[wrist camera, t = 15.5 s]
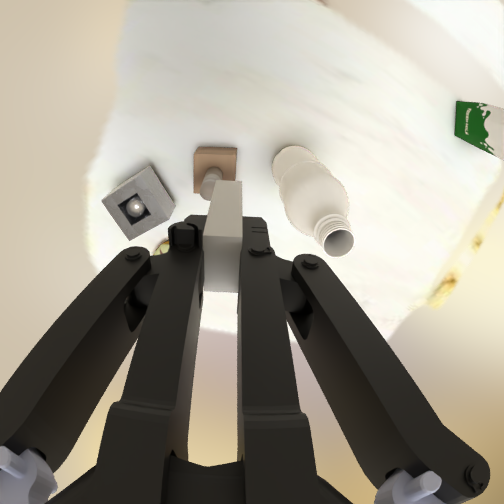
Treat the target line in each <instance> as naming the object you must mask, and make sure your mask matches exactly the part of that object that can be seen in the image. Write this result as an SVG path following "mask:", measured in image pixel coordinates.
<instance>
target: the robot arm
mask: <svg viewBox="0 0 504 504" xmlns="http://www.w3.org/2000/svg"><path fill="white" fill-rule="evenodd" d="M168 237H169V249H168V252H166V253H163V254H159V255H153V256H150V253H149V251H148V250H147V249H146V248H143V247H137V246H134V247H129V248H127V249H124V250H123V251H121V252H120V253H119V254H118V255H117V256H116V257H115V258H114V259H113V260H112V261H111V262H110V263H109V264H108V265H107V266H106V267H105V268H104V269H103V270H102V271H101V272H100V273H99V274H98V275H97V276H96V277H95V278H94V279H93V280H92V281H91V282H90V283H89V285H88V286H87V287H86V288H85V289H84V290H83V291H82V292H81V293H80V294H79V295H78V296H77V298H76V299H75V300H74V301H73V302H72V303H71V304H70V305H69V307H67V309H66V310H65V311H64V312H63V313H62V314H61V316H60V317H59V318H58V319H57V320H56V321H55V322H54V324H53V325H52V326H51V327H50V328H49V329H48V331H47V332H46V333H45V334H44V335H43V337H42V338H41V339H40V340H39V342H38V343H37V344H36V345H35V347H34V348H33V349H32V350H31V352H30V353H29V354H28V356H27V357H26V358H25V359H24V360H23V362H22V363H21V364H20V366H19V367H18V368H17V370H16V371H15V372H14V374H13V375H12V377H11V378H10V379H9V381H8V382H7V383H6V385H5V386H4V388H3V389H2V391H1V392H0V504H353V503H352V502H350V501H349V500H348V499H347V498H346V497H344V496H343V495H342V494H341V493H340V492H338V491H337V490H336V489H335V488H334V487H333V486H331V485H330V484H329V483H328V482H327V481H326V480H324V479H323V478H321V477H320V476H318V475H317V471H316V465H315V458H314V450H313V444H312V438H311V430H310V425H309V421H308V418H307V416H306V414H305V413H302V412H301V410H300V405H299V399H298V392H297V385H296V378H295V372H294V365H293V359H292V352H291V346H290V340H289V333H288V327H287V322H288V324H289V326H290V328H291V330H292V332H293V334H294V336H295V338H296V340H297V342H298V344H299V346H300V347H301V350H302V352H303V354H304V356H305V357H306V360H307V362H308V364H309V366H310V368H311V369H312V371H313V373H314V375H315V377H316V379H317V381H318V383H319V385H320V387H321V389H322V391H323V393H324V395H325V397H326V399H327V401H328V403H329V405H330V407H331V409H332V411H333V413H334V415H335V417H336V419H337V421H338V423H339V425H340V427H341V429H342V431H343V433H344V435H345V437H346V439H347V441H348V443H349V445H350V447H351V449H352V451H353V453H354V455H355V457H356V459H357V461H358V463H359V465H360V467H361V468H362V470H363V472H364V473H365V475H366V476H367V477H368V479H369V480H370V482H371V483H372V484H373V485H374V486H375V487H376V488H377V489H378V491H377V494H376V496H375V501H374V504H461V503H464V502H466V501H468V500H470V499H473V498H475V497H477V496H478V495H480V494H481V493H483V491H484V490H485V489H486V488H487V486H488V483H489V480H490V468H489V465H488V463H487V462H486V460H485V459H484V458H483V457H482V456H481V455H480V454H478V453H477V452H476V451H474V450H473V449H472V448H471V447H469V446H468V445H467V444H466V443H465V442H463V441H462V440H461V439H460V438H459V437H457V436H456V435H455V434H454V433H453V432H451V431H450V430H449V429H448V428H447V427H445V426H444V425H443V424H442V423H441V421H440V420H439V418H438V416H437V415H436V413H435V412H434V410H433V409H432V407H431V406H430V404H429V403H428V401H427V400H426V398H425V397H424V395H423V394H422V392H421V391H420V389H419V388H418V386H417V385H416V383H415V382H414V380H413V379H412V377H411V376H410V375H409V373H408V372H407V370H406V369H405V367H404V366H403V364H401V362H400V360H399V359H398V357H397V356H396V355H395V353H394V352H393V351H392V349H391V348H390V346H389V345H388V343H387V342H386V341H385V339H384V338H383V337H382V335H381V334H380V332H379V331H378V330H377V328H376V327H375V326H374V324H373V323H372V322H371V320H370V319H369V318H368V316H367V315H366V314H365V312H364V311H363V310H362V308H361V307H360V306H359V304H358V303H357V302H356V300H355V299H354V298H353V297H352V295H351V294H350V293H349V291H348V290H347V289H346V287H345V286H344V285H343V284H342V282H341V281H340V280H339V278H338V277H337V276H336V275H335V273H334V272H333V271H332V270H331V268H330V267H329V266H328V265H327V263H326V262H325V261H324V260H323V259H322V258H320V257H318V256H316V255H312V254H301V255H298V256H296V257H295V258H294V261H293V262H292V261H288V260H284V259H281V258H279V257H277V256H276V255H275V252H274V250H273V248H272V247H270V241H269V235H268V229H267V224H266V222H265V221H264V220H263V219H262V218H261V217H244V216H242V181H227V180H216V183H215V187H214V191H213V195H212V199H211V203H210V207H209V211H208V215H190V216H188V217H187V218H186V219H185V220H184V222H178V223H174V224H172V225H171V226H170V227H169V228H168ZM203 286H204V291H213V292H233V293H238V304H237V314H238V331H237V338H238V339H237V340H238V341H237V344H238V345H237V349H238V350H237V413H238V414H237V418H238V419H237V420H238V421H237V425H238V426H237V427H238V428H237V430H238V451H237V462H232V463H227V464H222V465H216V466H210V467H206V466H201V465H198V464H195V463H192V462H189V461H188V446H187V445H188V443H187V442H188V430H189V419H190V408H191V398H192V387H193V377H194V368H195V359H196V351H197V343H198V335H199V327H200V319H201V312H202V304H203ZM286 320H287V321H286ZM137 338H138V340H137ZM136 340H137V343H136V347H135V350H134V354H133V357H132V361H131V364H130V368H129V371H128V375H127V379H126V382H125V386H124V390H123V394H122V397H121V399H120V401H117V402H114V403H113V404H112V405H111V406H110V409H109V412H108V414H107V419H106V423H105V427H104V431H103V436H102V440H101V444H100V449H99V454H98V458H97V464H96V465H95V466H94V467H92V468H91V469H90V470H88V471H87V472H86V473H85V474H83V475H82V476H81V477H79V478H78V479H77V480H75V481H74V482H73V483H72V484H70V485H69V486H68V487H66V488H65V489H64V490H63V491H61V492H60V493H58V494H57V495H56V496H54V497H53V498H51V499H50V500H49V501H48V498H49V496H50V494H52V493H55V492H56V491H57V488H58V486H57V482H56V481H55V479H54V475H53V473H54V472H55V471H56V470H57V469H58V468H59V467H60V466H61V465H62V463H63V462H64V461H65V460H66V458H67V457H68V455H69V454H70V452H71V450H72V449H73V447H74V445H75V443H76V442H77V440H78V438H79V436H80V434H81V432H82V431H83V429H84V427H85V425H86V424H87V422H88V420H89V418H90V416H91V414H92V413H93V411H94V409H95V408H96V406H97V404H98V403H99V401H100V399H101V397H102V396H103V394H104V392H105V391H106V389H107V387H108V386H109V384H110V382H111V381H112V379H113V377H114V375H115V374H116V372H117V371H118V369H119V367H120V365H121V364H122V362H123V361H124V359H125V357H126V356H127V354H128V353H129V351H130V350H131V348H132V346H133V345H134V343H135V342H136Z"/></svg>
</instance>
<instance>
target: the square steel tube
mask: <svg viewBox="0 0 504 504" xmlns="http://www.w3.org/2000/svg"><path fill="white" fill-rule="evenodd" d="M136 193H137V194H138V195H139V197H140V198H141V200H142V201H143V203H144V204H145V206H146V207H147V209H145V210H144V212H143V213H142V214H141V215H140V216H138V217H133V216H131V215H130V214H129V213H128V212H127V208H126V206H127V204H128V202H129V201H130V200H131V199H132V198H131V196H132V195H134V194H136ZM102 203H103V204H104V206H105V207H106V208H107V210H108V211H109V213H110V214H111V216H112V217H113V219H114V220H115V221H116V223H117V224H118V226H119V227H120V228H121V230H122V231H123V233H124V234H125V235H126V237H127V238H128V240H129V241H130V240H132V239H134V238H136V237H137V236H139V235H141V234H143V233H145V232H147V231H148V230H150V229H152V228H154V227H156V226H158V225H159V224H161V223H163V222H165V221H167V220H169V219H170V216H171V214H172V212H173V210H174V208H175V204H174V203H173V201H172V199H171V198H170V196H169V195H168V193H167V192H166V190H165V188H164V187H163V185H162V184H161V182H160V180H159V179H158V177H157V176H156V174H155V172H154V171H153V169H152V168H151V166H148V167H147V168H145V169H143V170H142V171H140V172H139V173H137V174H135V175H134V176H132V177H131V178H129V179H128V180H126V181H125V182H123V183H122V184H120V185H119V186H117V187H116V188H114V189H113V190H112V191H111V192H110V193H109V194H108V195H107V196H106V197H105V198H104V199H103V200H102Z"/></svg>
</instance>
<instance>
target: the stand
mask: <svg viewBox="0 0 504 504" xmlns="http://www.w3.org/2000/svg"><path fill="white" fill-rule="evenodd" d="M236 155H237V148H221V147H198V149H197V150H196V152H195V153H194V193H200V195H201V196H202V198H203V199H205V200H209V201H211V199H212V195H213V191H214V187H215V183H216V180H227V181H235V173H236Z"/></svg>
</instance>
